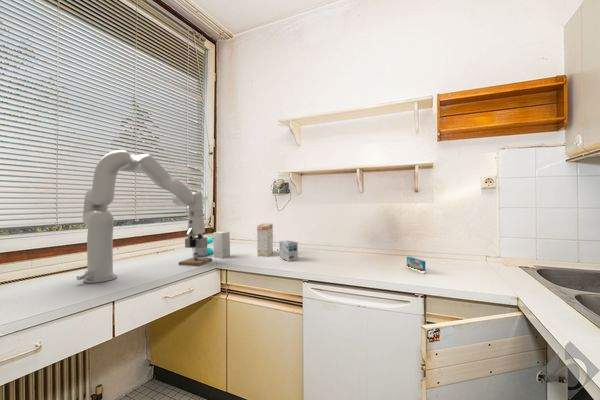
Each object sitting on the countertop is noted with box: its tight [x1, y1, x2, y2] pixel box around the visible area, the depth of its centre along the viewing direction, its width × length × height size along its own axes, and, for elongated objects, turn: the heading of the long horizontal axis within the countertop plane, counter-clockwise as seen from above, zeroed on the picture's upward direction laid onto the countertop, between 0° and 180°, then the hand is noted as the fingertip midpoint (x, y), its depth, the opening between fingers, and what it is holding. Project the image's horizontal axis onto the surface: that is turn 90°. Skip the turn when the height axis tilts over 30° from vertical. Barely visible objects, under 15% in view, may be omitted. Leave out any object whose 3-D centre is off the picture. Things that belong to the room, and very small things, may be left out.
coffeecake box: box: [256, 222, 274, 257], centre depth 190 cm, size 15×7×20 cm, turn 172°
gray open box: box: [184, 236, 208, 249], centre depth 166 cm, size 6×10×5 cm, turn 75°
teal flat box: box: [406, 256, 426, 272], centre depth 148 cm, size 12×2×6 cm, turn 18°
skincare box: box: [212, 230, 231, 259], centre depth 181 cm, size 8×7×16 cm
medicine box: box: [191, 246, 208, 258], centre depth 183 cm, size 8×4×9 cm, turn 131°
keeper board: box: [178, 253, 213, 267], centre depth 165 cm, size 14×12×6 cm
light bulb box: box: [279, 239, 299, 262], centre depth 175 cm, size 11×7×11 cm, turn 35°
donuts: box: [206, 237, 214, 256], centre depth 192 cm, size 10×10×10 cm
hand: (196, 245), depth 166 cm, fingers closed on gray open box, 6 cm apart
